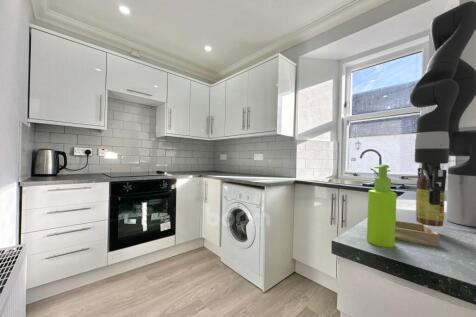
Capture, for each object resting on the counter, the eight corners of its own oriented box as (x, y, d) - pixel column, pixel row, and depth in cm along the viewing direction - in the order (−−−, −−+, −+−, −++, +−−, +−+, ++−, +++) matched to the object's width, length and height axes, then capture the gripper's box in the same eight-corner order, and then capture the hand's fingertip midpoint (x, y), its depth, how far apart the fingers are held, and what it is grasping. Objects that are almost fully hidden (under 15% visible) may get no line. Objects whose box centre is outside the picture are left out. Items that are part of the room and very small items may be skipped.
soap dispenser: (361, 242, 51) (364, 164, 51) (370, 236, 56) (373, 164, 56) (389, 250, 47) (393, 165, 47) (397, 243, 51) (400, 165, 51)
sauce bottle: (445, 229, 57) (448, 159, 57) (416, 224, 61) (418, 158, 61) (441, 223, 62) (443, 159, 62) (414, 219, 66) (416, 158, 66)
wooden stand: (382, 228, 63) (382, 218, 63) (424, 234, 59) (425, 224, 59) (388, 238, 55) (389, 227, 55) (438, 246, 50) (439, 234, 50)
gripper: (461, 146, 53) (459, 209, 54) (437, 148, 66) (435, 199, 66) (424, 146, 57) (422, 205, 57) (408, 148, 70) (407, 197, 70)
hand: (429, 202), depth 62 cm, fingers closed on sauce bottle, 6 cm apart
